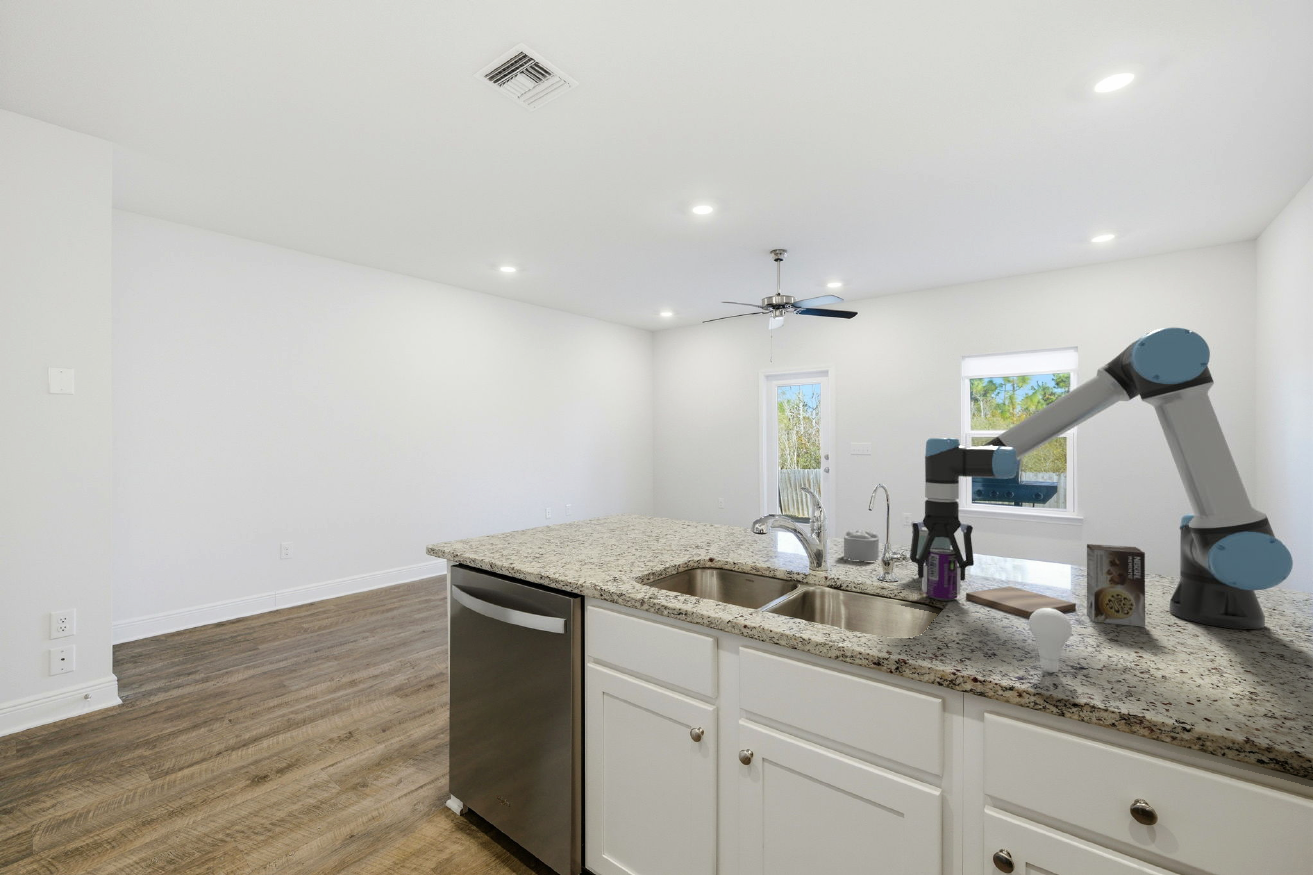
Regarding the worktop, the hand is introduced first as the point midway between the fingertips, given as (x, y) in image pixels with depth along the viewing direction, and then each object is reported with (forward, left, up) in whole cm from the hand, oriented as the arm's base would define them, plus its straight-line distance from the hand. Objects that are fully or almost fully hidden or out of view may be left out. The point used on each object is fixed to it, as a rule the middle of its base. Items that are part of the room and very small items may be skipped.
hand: (940, 591), depth 142 cm
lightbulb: (-39, +20, -2) cm, 44 cm away
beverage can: (0, 0, -2) cm, 2 cm away
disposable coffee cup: (+15, -14, -2) cm, 21 cm away
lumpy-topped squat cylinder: (+43, -15, -2) cm, 46 cm away
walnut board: (-11, -13, -2) cm, 17 cm away
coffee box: (-27, -21, -2) cm, 34 cm away
